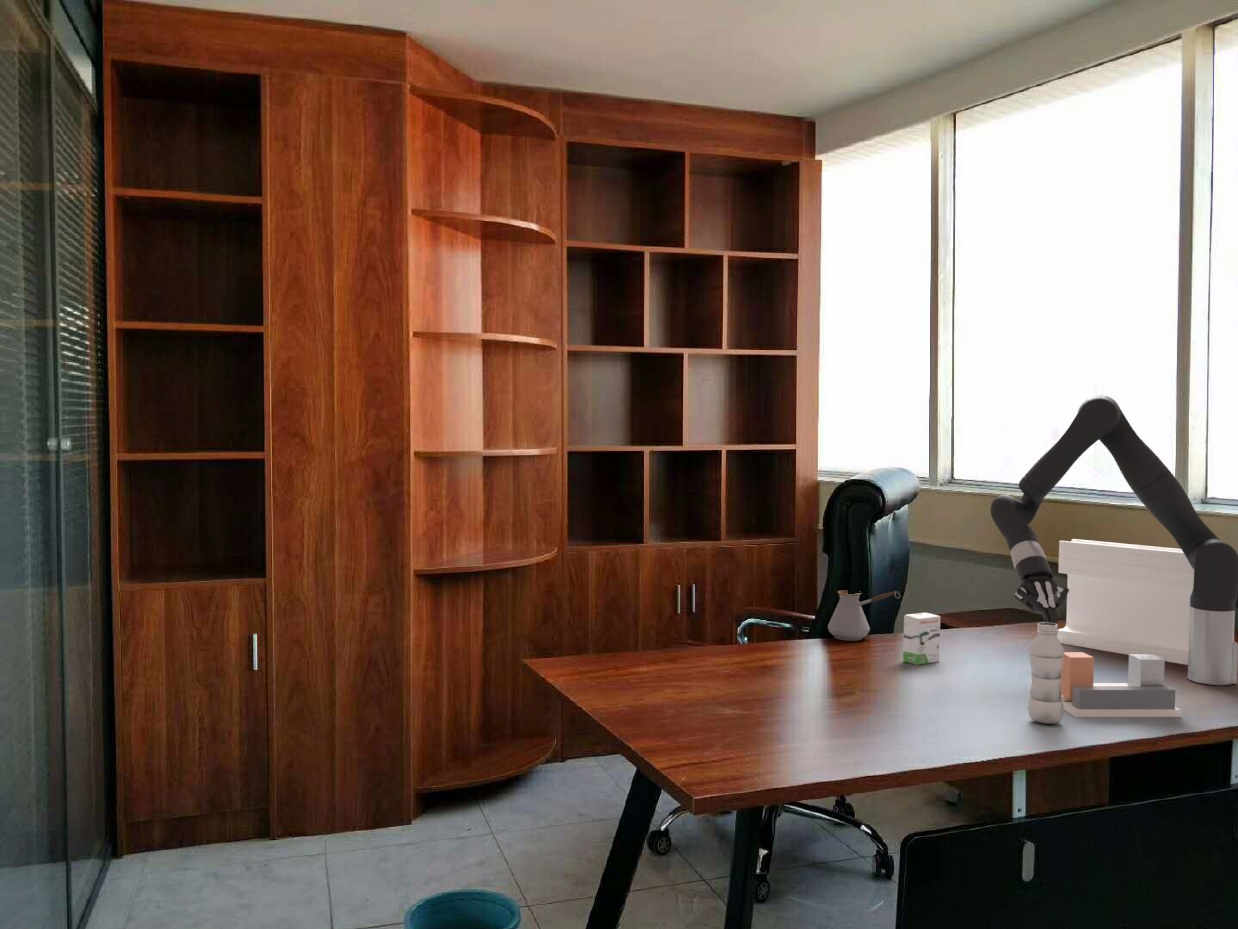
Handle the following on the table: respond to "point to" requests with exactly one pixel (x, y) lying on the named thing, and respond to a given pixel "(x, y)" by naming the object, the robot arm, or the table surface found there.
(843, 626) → the coffee pot
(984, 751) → the table surface
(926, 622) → the ink box
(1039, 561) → the robot arm
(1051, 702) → the plastic bottle
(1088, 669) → the tall salmon pillar
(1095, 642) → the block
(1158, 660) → the brushed metal pillar
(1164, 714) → the plate
